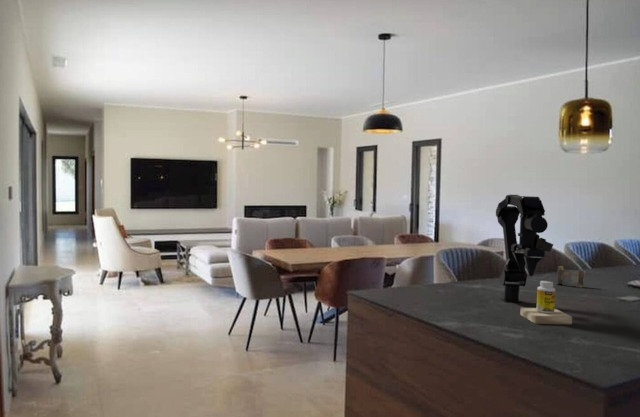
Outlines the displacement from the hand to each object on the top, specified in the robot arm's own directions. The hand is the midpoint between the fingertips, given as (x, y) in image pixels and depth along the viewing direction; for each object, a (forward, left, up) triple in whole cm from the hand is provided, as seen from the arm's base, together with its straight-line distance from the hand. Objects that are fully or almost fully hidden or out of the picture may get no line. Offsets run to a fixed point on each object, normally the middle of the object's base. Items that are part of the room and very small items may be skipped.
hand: (526, 273), depth 188 cm
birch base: (+14, +2, -13) cm, 19 cm away
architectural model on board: (-55, +40, -14) cm, 69 cm away
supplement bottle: (+14, +2, -11) cm, 18 cm away
